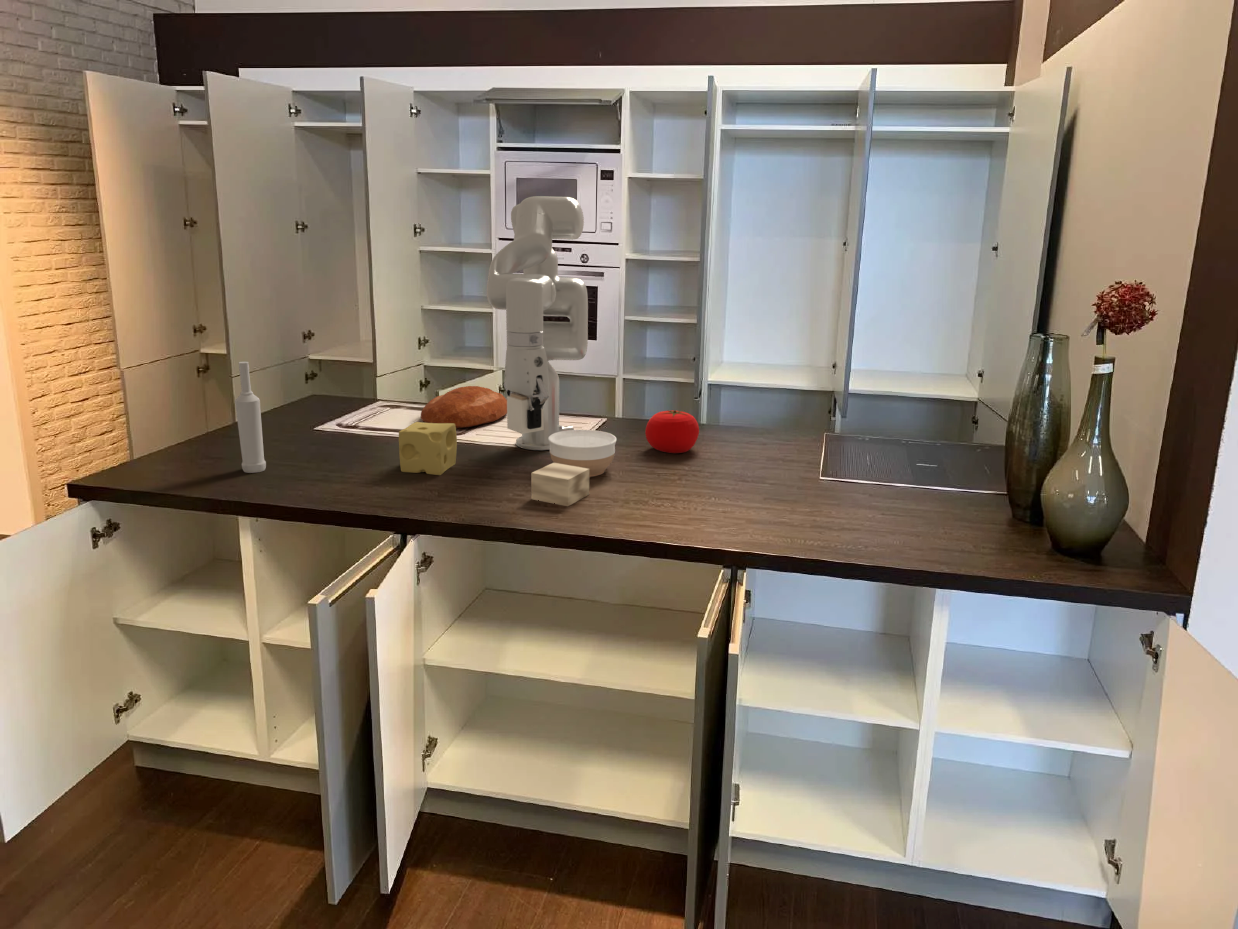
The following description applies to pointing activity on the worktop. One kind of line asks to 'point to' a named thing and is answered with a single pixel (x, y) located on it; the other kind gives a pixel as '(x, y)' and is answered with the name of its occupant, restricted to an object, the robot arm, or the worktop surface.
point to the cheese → (427, 447)
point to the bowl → (583, 449)
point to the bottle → (249, 424)
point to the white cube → (520, 414)
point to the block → (560, 484)
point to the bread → (465, 407)
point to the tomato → (672, 431)
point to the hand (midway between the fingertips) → (525, 424)
